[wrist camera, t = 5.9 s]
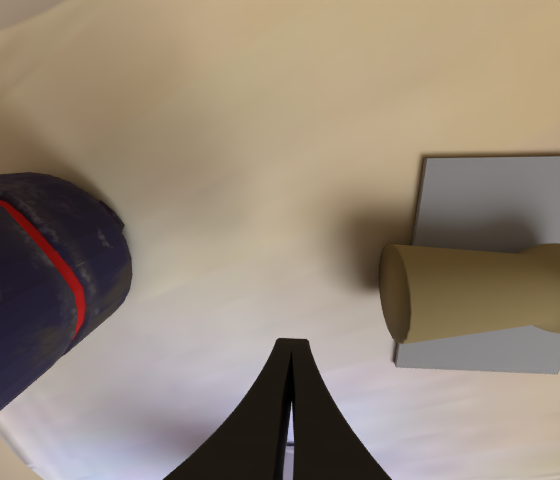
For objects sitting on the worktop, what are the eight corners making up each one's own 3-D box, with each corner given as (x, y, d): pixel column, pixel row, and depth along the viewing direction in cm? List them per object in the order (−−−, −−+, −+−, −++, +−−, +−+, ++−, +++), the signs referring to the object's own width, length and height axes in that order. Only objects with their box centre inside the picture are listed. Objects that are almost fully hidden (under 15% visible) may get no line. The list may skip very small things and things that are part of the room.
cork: (411, 367, 14) (647, 366, 13) (412, 254, 13) (666, 243, 12) (379, 316, 20) (539, 313, 19) (378, 236, 19) (546, 228, 18)
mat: (553, 370, 21) (557, 374, 20) (394, 363, 22) (396, 367, 21) (635, 154, 16) (643, 155, 15) (424, 158, 17) (427, 158, 16)
